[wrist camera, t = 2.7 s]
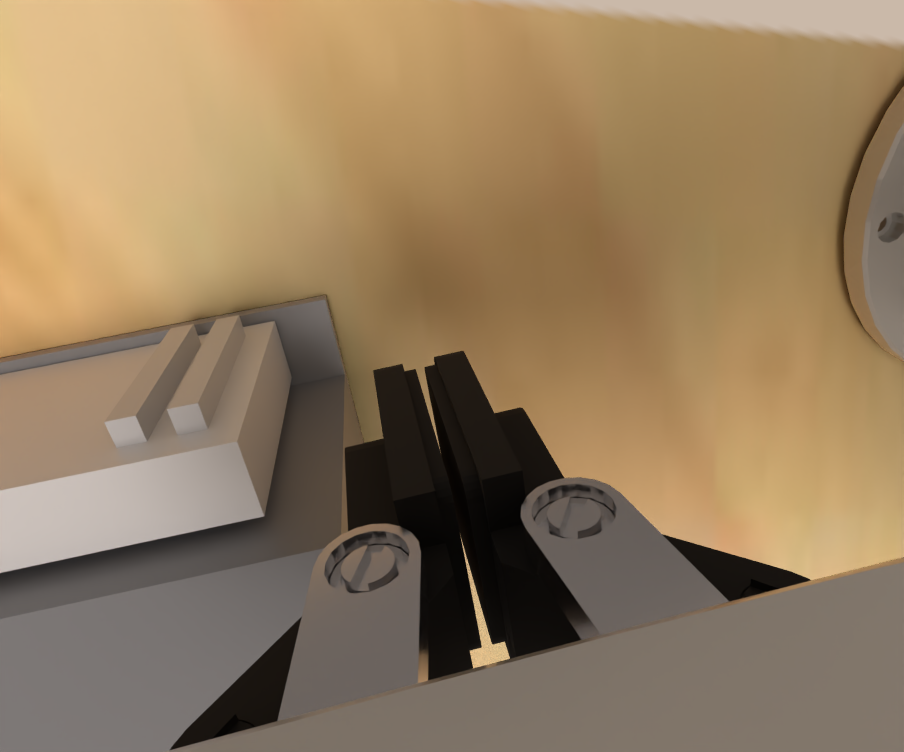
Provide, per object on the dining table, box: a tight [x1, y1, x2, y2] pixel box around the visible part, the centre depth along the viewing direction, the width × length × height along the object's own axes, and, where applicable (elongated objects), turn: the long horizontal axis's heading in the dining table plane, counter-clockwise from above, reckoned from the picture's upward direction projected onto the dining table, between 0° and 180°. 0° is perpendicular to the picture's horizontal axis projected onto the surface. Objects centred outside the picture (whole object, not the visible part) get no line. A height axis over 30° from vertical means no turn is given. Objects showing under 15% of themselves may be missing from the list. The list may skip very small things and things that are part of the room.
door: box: [0, 315, 292, 573], centre depth 15 cm, size 8×2×6 cm, turn 99°
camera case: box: [0, 295, 364, 752], centre depth 17 cm, size 15×12×9 cm
